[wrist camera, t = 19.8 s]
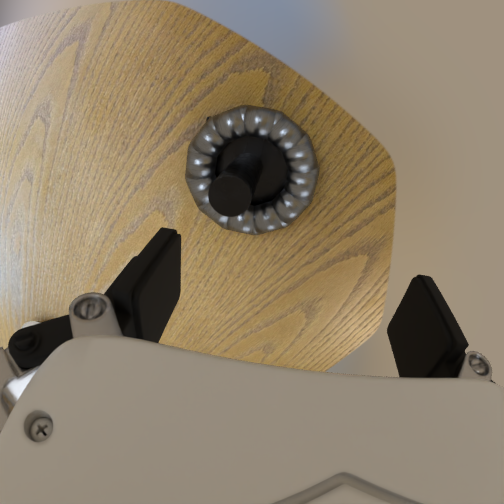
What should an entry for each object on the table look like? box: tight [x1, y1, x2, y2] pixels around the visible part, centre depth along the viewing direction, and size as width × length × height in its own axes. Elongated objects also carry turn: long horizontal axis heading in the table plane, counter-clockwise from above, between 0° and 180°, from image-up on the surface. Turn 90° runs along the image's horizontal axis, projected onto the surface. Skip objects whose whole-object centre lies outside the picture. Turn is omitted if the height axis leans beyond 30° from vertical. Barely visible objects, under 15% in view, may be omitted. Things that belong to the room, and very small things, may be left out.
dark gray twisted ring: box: [185, 105, 320, 235], centre depth 27 cm, size 12×12×3 cm
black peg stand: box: [207, 116, 288, 217], centre depth 24 cm, size 9×9×10 cm
